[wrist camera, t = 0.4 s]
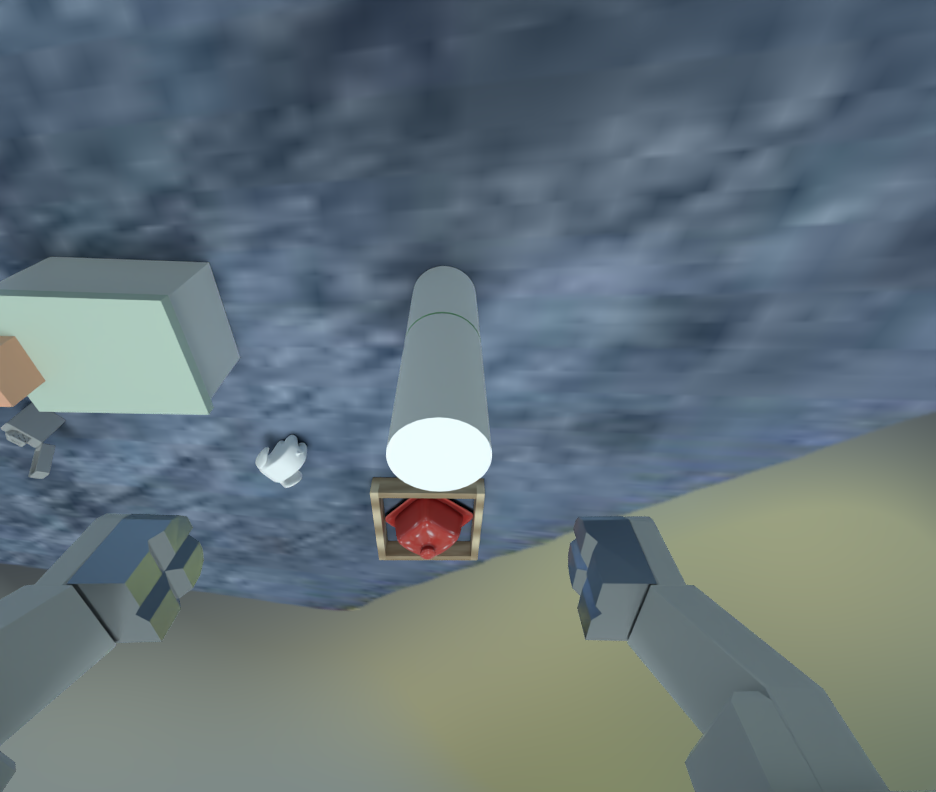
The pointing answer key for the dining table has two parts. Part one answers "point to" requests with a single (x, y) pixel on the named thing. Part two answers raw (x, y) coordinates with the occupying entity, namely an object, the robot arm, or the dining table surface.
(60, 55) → the dining table surface
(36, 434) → the lighter
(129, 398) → the lid
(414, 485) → the cylindrical container
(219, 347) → the parts tub
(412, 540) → the butter dish
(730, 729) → the robot arm
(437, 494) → the wooden frame
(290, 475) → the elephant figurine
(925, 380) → the dining table surface
